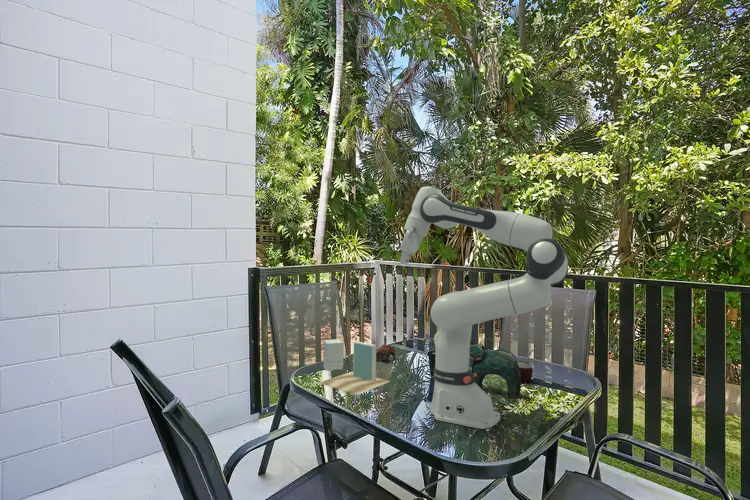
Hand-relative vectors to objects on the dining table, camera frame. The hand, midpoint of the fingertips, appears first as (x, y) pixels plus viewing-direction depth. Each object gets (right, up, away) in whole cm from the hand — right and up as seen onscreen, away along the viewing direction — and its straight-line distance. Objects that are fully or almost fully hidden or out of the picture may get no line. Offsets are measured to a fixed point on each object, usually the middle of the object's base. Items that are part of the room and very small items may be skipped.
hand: (403, 263), depth 158 cm
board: (-19, -47, +7) cm, 51 cm away
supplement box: (-29, -47, +26) cm, 62 cm away
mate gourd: (+50, -49, +13) cm, 71 cm away
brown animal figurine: (-6, -48, +44) cm, 65 cm away
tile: (-15, -46, +12) cm, 50 cm away
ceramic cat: (+34, -49, +1) cm, 59 cm away
